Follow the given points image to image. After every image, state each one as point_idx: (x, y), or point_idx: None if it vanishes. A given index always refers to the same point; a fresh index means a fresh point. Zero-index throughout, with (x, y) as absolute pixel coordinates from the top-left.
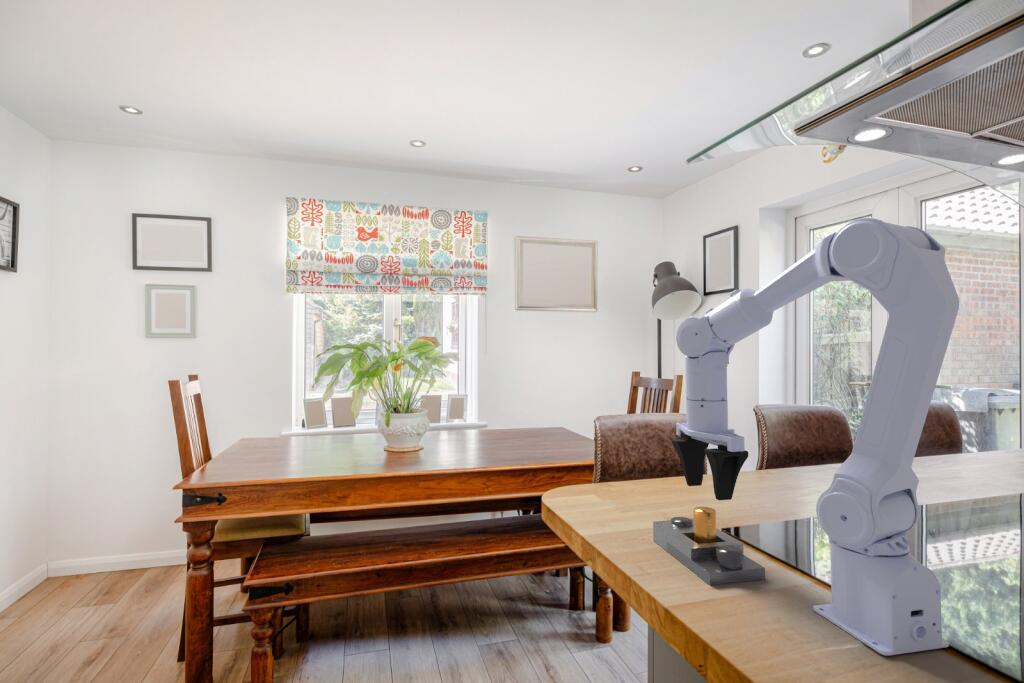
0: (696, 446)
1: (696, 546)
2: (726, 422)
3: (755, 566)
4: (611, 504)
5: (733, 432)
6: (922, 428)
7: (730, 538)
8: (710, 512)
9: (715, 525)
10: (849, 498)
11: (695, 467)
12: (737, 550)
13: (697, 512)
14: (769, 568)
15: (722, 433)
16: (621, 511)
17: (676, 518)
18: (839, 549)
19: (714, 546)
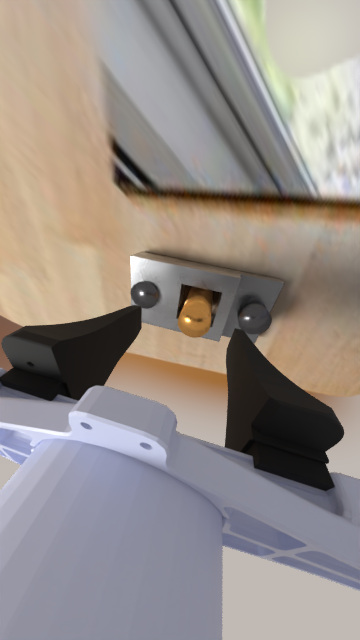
0: (85, 370)
1: (217, 333)
2: (212, 617)
3: (273, 290)
4: (20, 273)
5: (276, 526)
6: None
7: (216, 278)
8: (207, 325)
9: (209, 307)
10: None
11: (121, 335)
12: (262, 314)
13: (196, 336)
14: (259, 241)
15: (257, 544)
16: (46, 278)
17: (136, 297)
18: None
19: (227, 316)
